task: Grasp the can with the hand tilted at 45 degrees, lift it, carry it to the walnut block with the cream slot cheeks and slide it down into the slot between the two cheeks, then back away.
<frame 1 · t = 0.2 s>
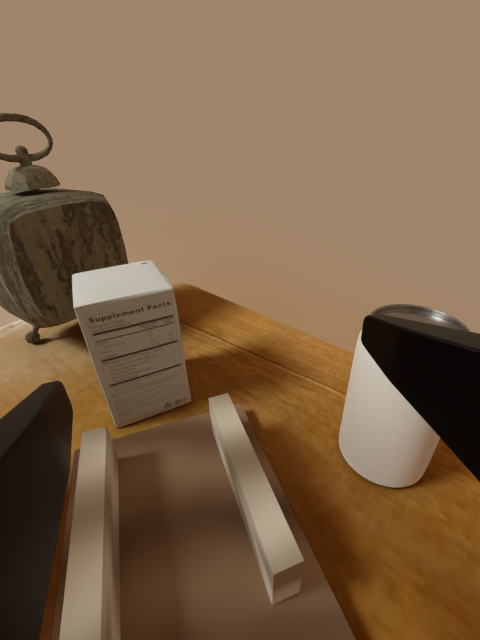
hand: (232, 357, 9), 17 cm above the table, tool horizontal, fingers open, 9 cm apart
supplement box: (148, 393, 32), on the table
slot block: (185, 543, 20), on the table
tabletop clock: (85, 331, 43), on the table
can: (378, 453, 25), on the table
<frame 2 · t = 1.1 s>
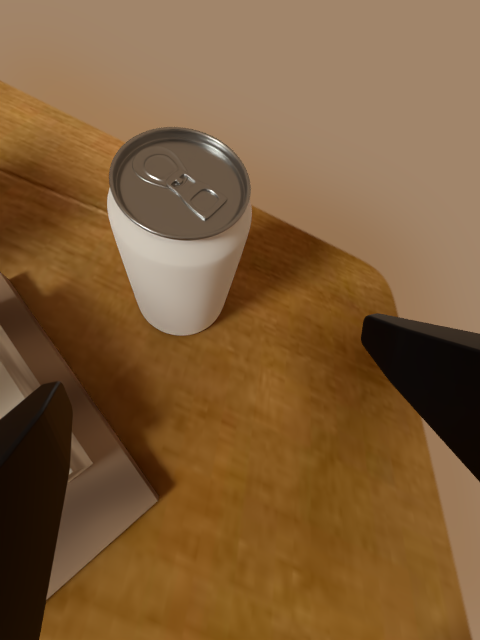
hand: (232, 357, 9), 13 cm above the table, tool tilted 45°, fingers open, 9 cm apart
can: (181, 297, 24), on the table
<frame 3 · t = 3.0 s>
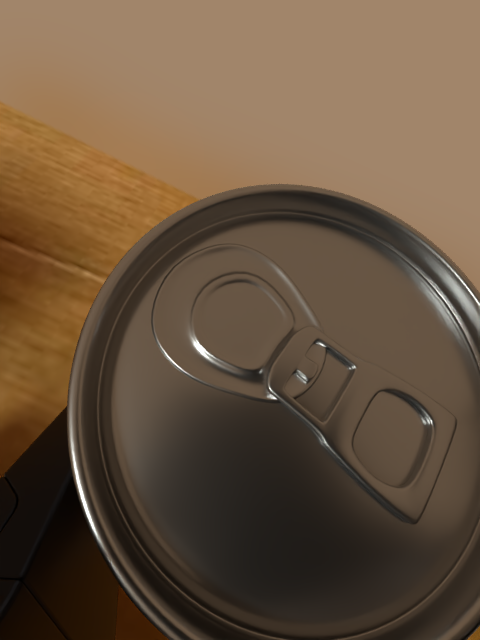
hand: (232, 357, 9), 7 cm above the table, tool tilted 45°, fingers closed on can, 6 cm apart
can: (215, 414, 15), on the table, touching gripper
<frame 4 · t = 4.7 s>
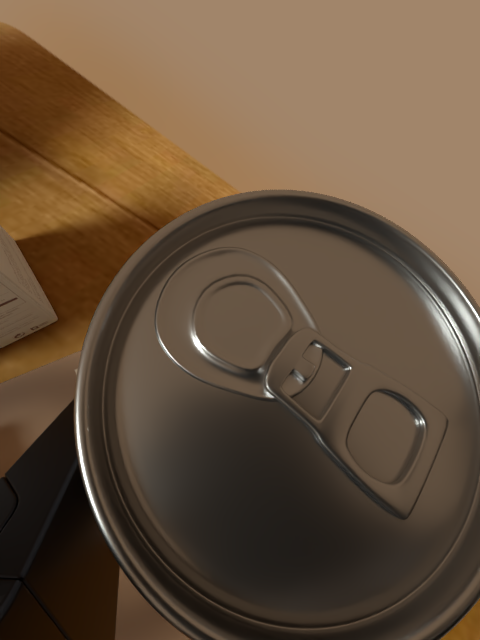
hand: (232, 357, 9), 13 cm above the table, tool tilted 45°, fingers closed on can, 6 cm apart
slot block: (76, 519, 18), on the table
can: (215, 413, 15), point 6 cm above the table, touching gripper
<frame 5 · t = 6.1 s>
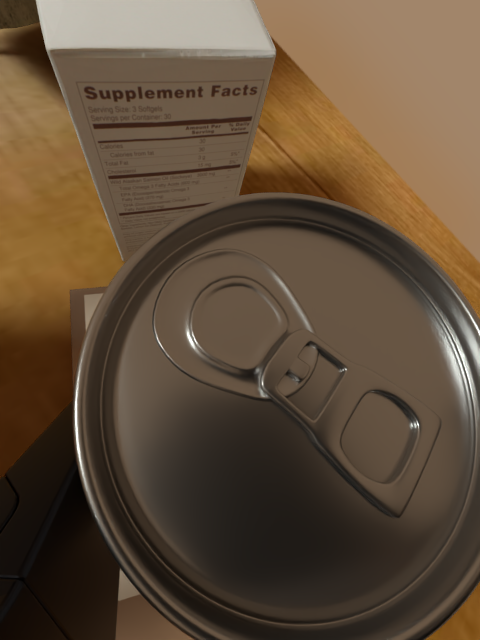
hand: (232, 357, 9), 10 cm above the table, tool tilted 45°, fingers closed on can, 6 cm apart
supplement box: (165, 213, 22), on the table
slot block: (212, 427, 18), on the table
tabletop clock: (52, 50, 25), on the table
can: (214, 413, 15), point 3 cm above the table, touching gripper
when the fingers open (9 cm above the table, at t = 6.9 s): can stays where it is, resting on slot block.
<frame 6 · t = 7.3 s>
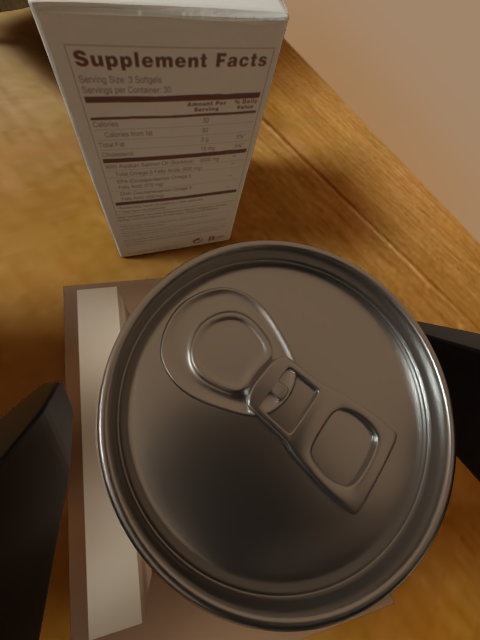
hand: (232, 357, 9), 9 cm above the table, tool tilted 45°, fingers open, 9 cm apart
supplement box: (165, 207, 21), on the table
slot block: (215, 434, 17), on the table
can: (213, 417, 16), point 1 cm above the table, touching slot block
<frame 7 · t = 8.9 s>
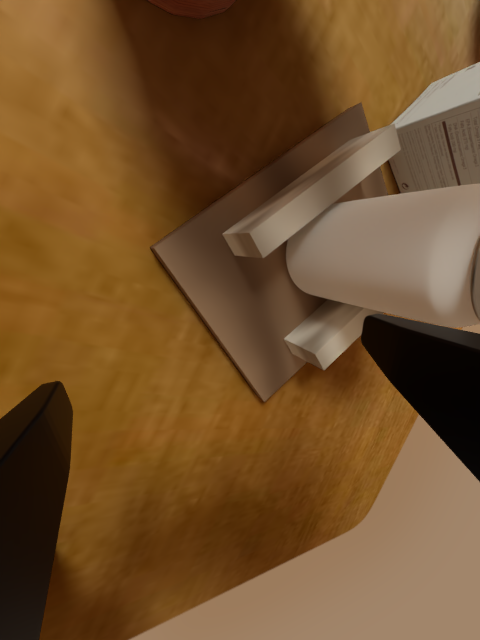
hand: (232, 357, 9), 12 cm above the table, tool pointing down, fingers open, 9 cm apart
supplement box: (414, 149, 27), on the table
slot block: (300, 258, 24), on the table
can: (316, 251, 23), point 1 cm above the table, touching slot block
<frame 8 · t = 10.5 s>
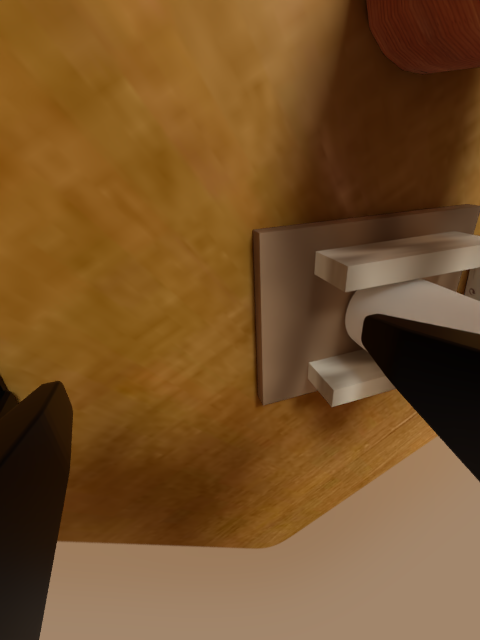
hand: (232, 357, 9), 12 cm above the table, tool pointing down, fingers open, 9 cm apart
slot block: (358, 304, 25), on the table
can: (375, 306, 25), point 1 cm above the table, touching slot block
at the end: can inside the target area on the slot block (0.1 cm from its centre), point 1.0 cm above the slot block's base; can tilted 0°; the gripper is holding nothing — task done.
